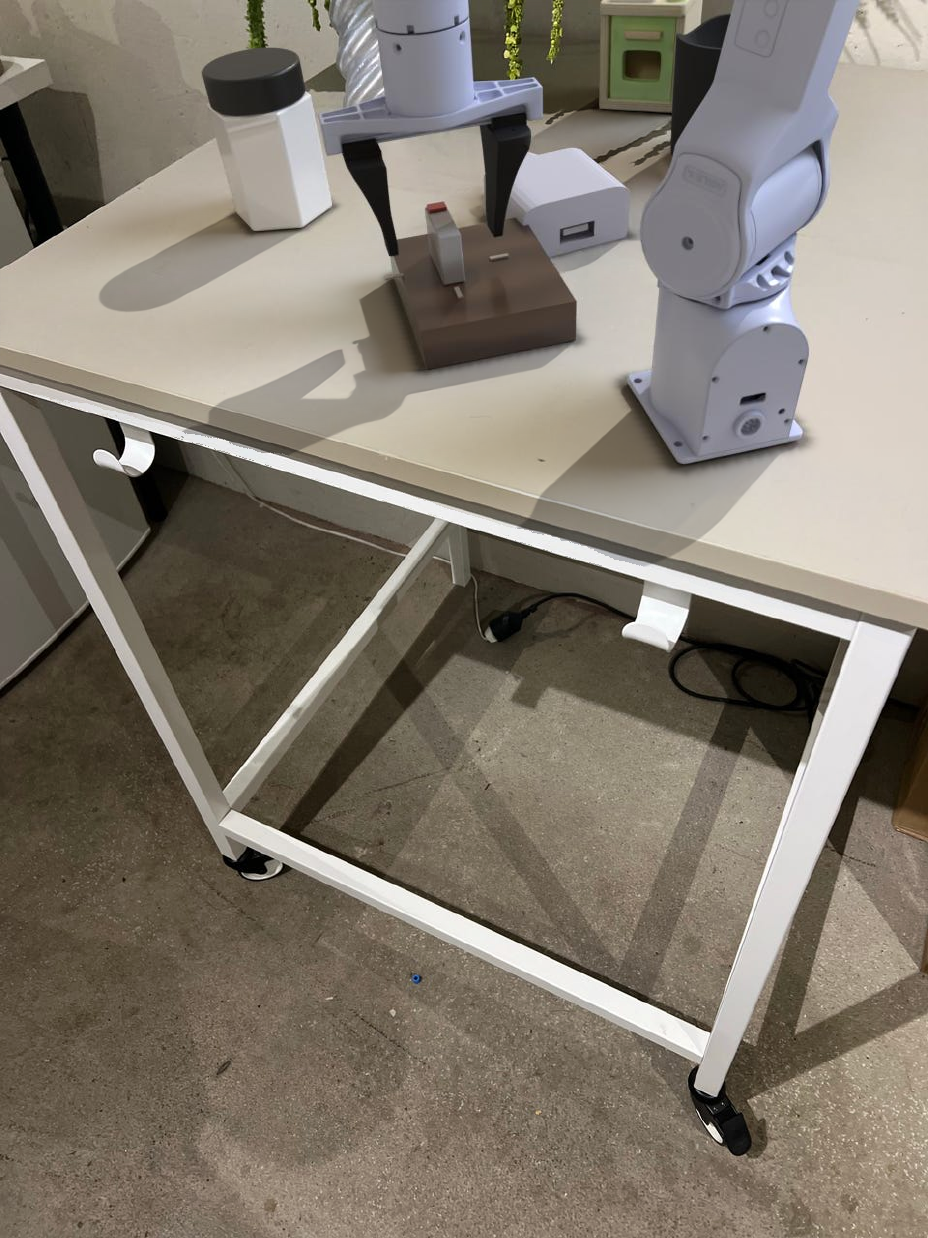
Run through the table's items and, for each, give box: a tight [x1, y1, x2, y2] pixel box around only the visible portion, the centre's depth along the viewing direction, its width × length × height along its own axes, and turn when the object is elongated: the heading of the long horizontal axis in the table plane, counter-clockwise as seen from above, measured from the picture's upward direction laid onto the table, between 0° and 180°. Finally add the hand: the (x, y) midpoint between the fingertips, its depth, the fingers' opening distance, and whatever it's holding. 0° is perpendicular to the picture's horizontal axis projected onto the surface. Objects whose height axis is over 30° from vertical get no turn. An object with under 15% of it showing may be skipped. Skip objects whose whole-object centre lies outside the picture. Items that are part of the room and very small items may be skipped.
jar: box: [201, 47, 333, 232], centre depth 75 cm, size 9×8×12 cm
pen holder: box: [669, 13, 731, 158], centre depth 76 cm, size 9×9×10 cm
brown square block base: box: [384, 218, 578, 370], centre depth 65 cm, size 14×12×3 cm
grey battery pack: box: [424, 201, 465, 285], centre depth 63 cm, size 5×2×4 cm, turn 13°
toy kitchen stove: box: [598, 0, 703, 114], centre depth 85 cm, size 8×7×13 cm
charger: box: [483, 147, 631, 258], centre depth 74 cm, size 5×9×15 cm
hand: (443, 240), depth 63 cm, fingers open, 7 cm apart
